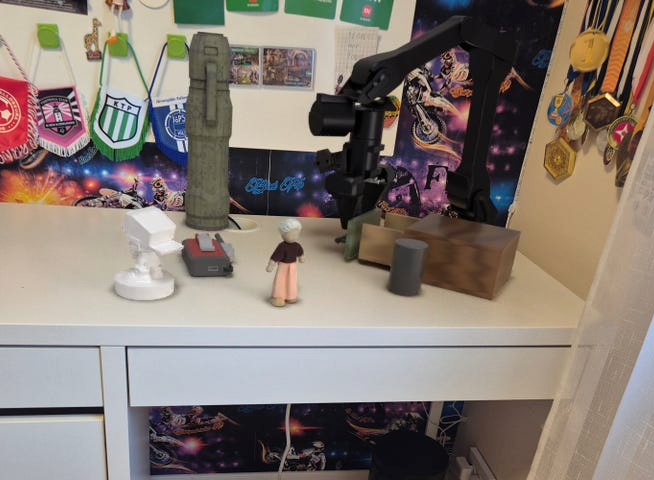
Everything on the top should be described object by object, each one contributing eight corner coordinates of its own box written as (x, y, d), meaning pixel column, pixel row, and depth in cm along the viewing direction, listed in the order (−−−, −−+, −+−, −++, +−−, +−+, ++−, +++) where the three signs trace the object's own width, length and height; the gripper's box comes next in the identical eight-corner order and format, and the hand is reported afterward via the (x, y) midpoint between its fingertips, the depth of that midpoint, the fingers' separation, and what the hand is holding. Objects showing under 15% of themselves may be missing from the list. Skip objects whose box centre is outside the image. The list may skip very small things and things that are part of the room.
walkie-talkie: (244, 278, 104) (222, 242, 121) (246, 252, 102) (223, 218, 119) (190, 279, 101) (175, 242, 118) (190, 252, 99) (175, 218, 116)
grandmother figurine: (281, 311, 93) (288, 225, 87) (259, 304, 95) (265, 219, 89) (308, 297, 99) (316, 216, 93) (288, 290, 101) (294, 210, 95)
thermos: (190, 233, 124) (191, 31, 108) (180, 216, 134) (180, 29, 118) (234, 232, 127) (242, 35, 111) (222, 216, 137) (227, 34, 121)
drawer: (324, 253, 117) (328, 216, 114) (354, 237, 128) (358, 204, 125) (425, 277, 110) (432, 238, 107) (447, 259, 121) (454, 223, 117)
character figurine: (144, 275, 101) (142, 199, 96) (191, 290, 97) (192, 212, 92) (102, 290, 94) (97, 209, 89) (151, 306, 90) (149, 223, 85)
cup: (394, 282, 109) (401, 236, 105) (424, 289, 107) (432, 243, 103) (382, 290, 104) (389, 243, 101) (413, 299, 102) (422, 250, 99)
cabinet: (397, 276, 111) (404, 228, 108) (423, 257, 123) (431, 213, 119) (491, 300, 105) (503, 249, 101) (510, 277, 117) (521, 231, 113)
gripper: (346, 127, 123) (337, 207, 130) (300, 135, 108) (293, 225, 115) (400, 135, 119) (388, 218, 126) (360, 145, 104) (349, 238, 111)
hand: (355, 224), depth 120 cm, fingers open, 9 cm apart
